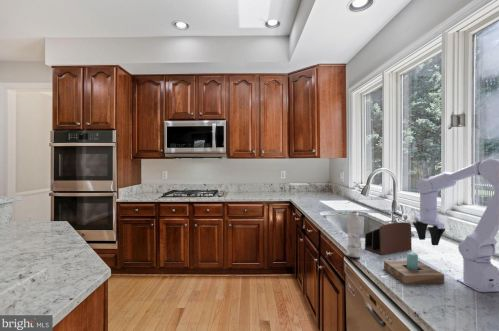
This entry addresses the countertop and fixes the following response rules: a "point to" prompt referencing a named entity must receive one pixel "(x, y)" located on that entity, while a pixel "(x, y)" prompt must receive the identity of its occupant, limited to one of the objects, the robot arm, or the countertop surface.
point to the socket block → (413, 273)
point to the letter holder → (389, 238)
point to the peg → (412, 261)
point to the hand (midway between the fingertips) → (428, 242)
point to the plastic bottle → (354, 236)
